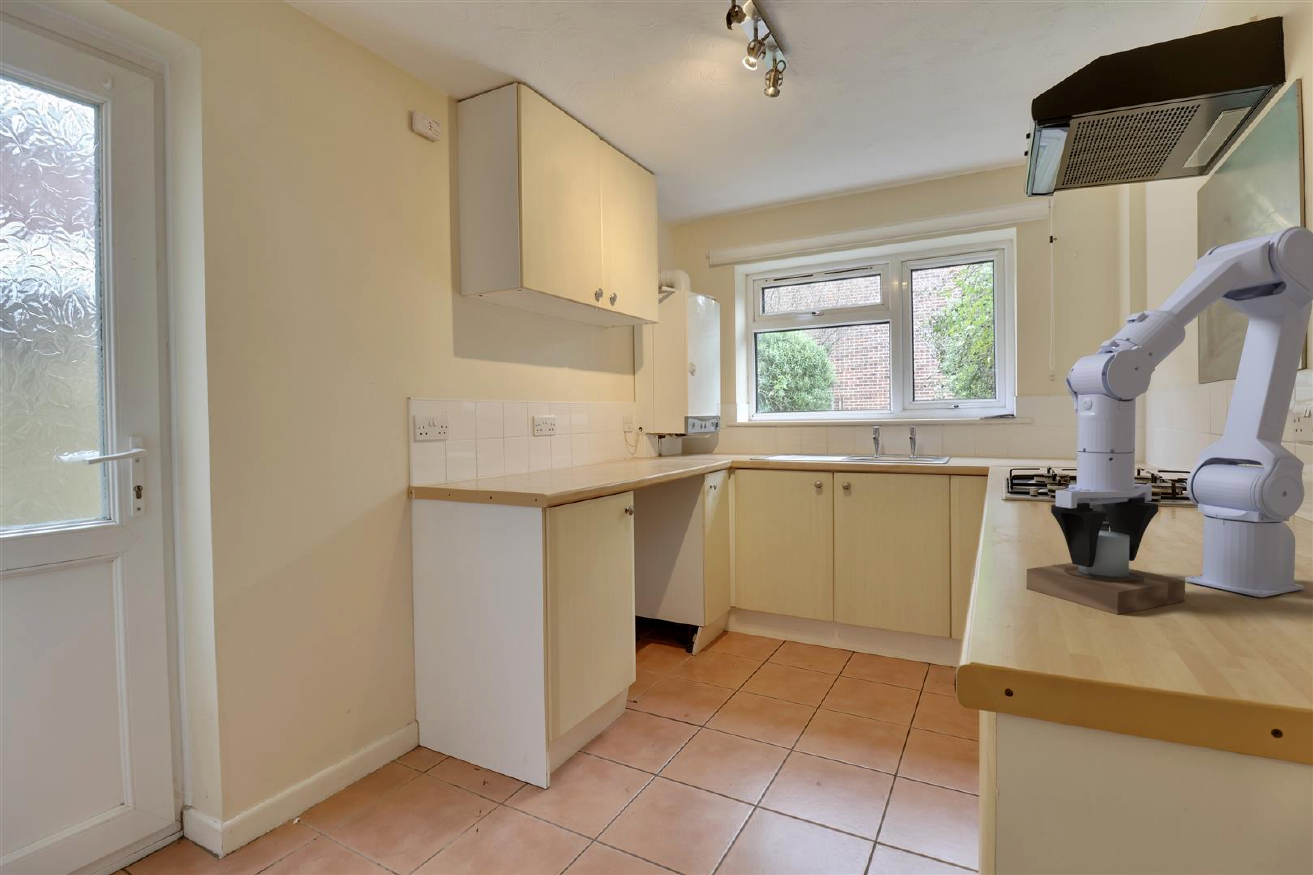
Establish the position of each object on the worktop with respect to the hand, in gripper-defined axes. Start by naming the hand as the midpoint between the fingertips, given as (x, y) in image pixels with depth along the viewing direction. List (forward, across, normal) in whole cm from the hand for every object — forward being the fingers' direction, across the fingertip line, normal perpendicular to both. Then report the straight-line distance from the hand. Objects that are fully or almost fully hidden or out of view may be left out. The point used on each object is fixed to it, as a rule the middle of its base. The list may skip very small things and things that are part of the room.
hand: (1103, 562), depth 76 cm
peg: (+4, 0, 0) cm, 4 cm away
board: (+4, 0, 0) cm, 4 cm away
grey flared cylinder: (+4, -9, -7) cm, 12 cm away
